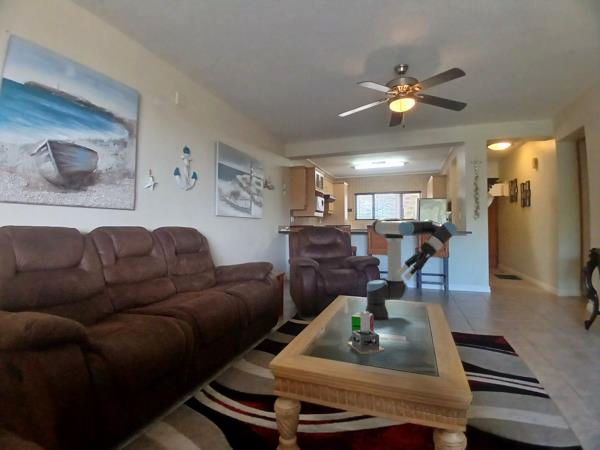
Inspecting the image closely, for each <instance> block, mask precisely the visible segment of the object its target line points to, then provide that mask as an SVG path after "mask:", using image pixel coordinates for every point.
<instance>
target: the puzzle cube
mask: <svg viewBox="0 0 600 450" xmlns="http://www.w3.org/2000/svg"><path fill="white" fill-rule="evenodd" d="M360 312H361V311H360ZM360 312H358V311H356V312H355V313H354V314H353V315H352V316H351V332H352V331H357V330H361V322H360ZM374 324H375V323H374V316H373V314H370V330H371V331H373V332H375V325H374Z"/></svg>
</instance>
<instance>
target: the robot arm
mask: <svg viewBox="0 0 600 450" xmlns="http://www.w3.org/2000/svg"><path fill="white" fill-rule="evenodd" d="M371 230H372V233H374V234H375V235H377V236H379V237H380V236H381V237H385V238H384V239H385V240H386V242H387V277H386V278H385V280H383V279H376V280H375V279H374V280H370V281H368V282H367V284H366V308H365V310H364V311H368V312H370V314H373V316H374V320H376V321H379V320H380V321H382V320H387V319H389V312H388V309H387V306H386V301H391V300H392V301H393V300H394V301H395V300H397V301H398V300H403V299H405V298H406V297H407V295H408V293H409V289H408V284H407V283H406V282H405V279H406V280H407V281H409V280H410V279H411V278H412V277H413V276H414V275H415V274H416V273H417V272H418V271H421V270H422V269H423V268H424V266H425V264H427V262H428V260H429V259H430V258H431V257H434V255H436V253H437V252H438V251H439V250H442V248H443V246H444V245H445V244H446V243H448V241H449V240H450V239H451V238H452V237H454V235H455V234H456V233H457V232H458V228H457V226H456V225H455V224H454V223H452V222H451V221H449V220H445V221H444V222H443V223H439V222H438V221H434V220H431V219H425V220H420V221H416V220H415V221H414V220H413V221H409V220H404V219H403V218H396V217H394V218H393V217H392V218H389V217H388V218H387V217H386V218H377V219H375V220H374V221H373V222H372V225H371ZM404 236H405V237H406V236H429V237H428V238H427V239H426V240H425V241H424V242H423V243H422V244H421V245H420V250H421V251H419V250H418V251H416V252H415V253H414V254H413V255H412V256H411V257H409V258H408V259H407V260H405V261H404V264H403V265H402V240H404ZM411 266H412V267H411ZM408 269H409V270H408ZM407 270H408V271H407ZM406 271H407V272H406ZM404 273H405V274H404ZM402 275H403V277H404V278H405V279H404V278H403V277H402Z"/></svg>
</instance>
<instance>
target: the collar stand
mask: <svg viewBox="0 0 600 450" xmlns="http://www.w3.org/2000/svg"><path fill="white" fill-rule="evenodd" d="M364 341H370V344H364ZM347 344H348V345H349V346H350V347H351V348H352V349H354V350H355V351H357V352H358V353H359V354H360V355H364V354H365V355H366V354H373V353H380V352H385V348H383V347H381V346H380V335H379V334H378V333H377V332H375V331H374V332H373V331H371V330H370V335H365V336H362V335H361V330H357V331H352V330H351V341H348V342H347Z"/></svg>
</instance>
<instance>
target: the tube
mask: <svg viewBox="0 0 600 450" xmlns="http://www.w3.org/2000/svg"><path fill="white" fill-rule="evenodd" d="M360 322H361V335H362V336H365V335H370V312H368V311H365V310H360ZM364 344H370V341H364Z"/></svg>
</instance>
